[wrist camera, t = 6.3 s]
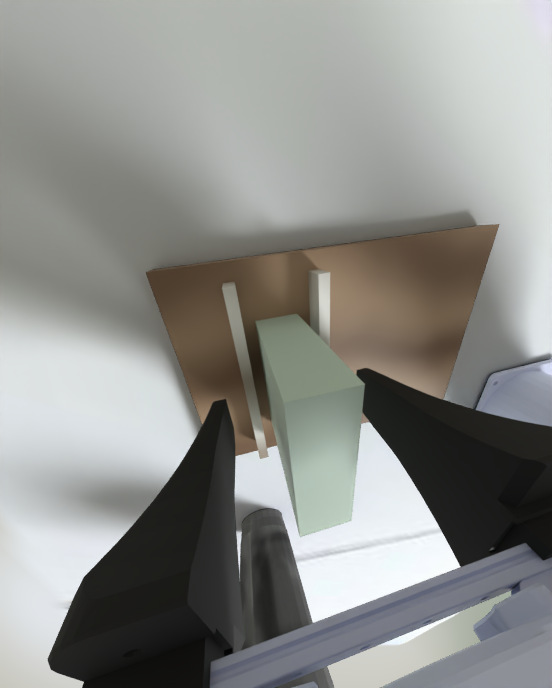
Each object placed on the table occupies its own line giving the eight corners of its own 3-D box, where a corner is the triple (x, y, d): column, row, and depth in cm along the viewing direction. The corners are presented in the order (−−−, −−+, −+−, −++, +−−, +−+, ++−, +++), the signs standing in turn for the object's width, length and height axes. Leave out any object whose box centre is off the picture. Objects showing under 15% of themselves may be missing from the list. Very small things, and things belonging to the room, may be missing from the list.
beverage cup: (296, 494, 23) (533, 1366, 5) (292, 530, 26) (430, 1148, 8) (226, 509, 21) (222, 1778, 4) (230, 545, 24) (240, 1328, 7)
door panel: (303, 413, 16) (351, 520, 10) (271, 421, 16) (300, 537, 10) (297, 313, 13) (365, 384, 6) (255, 320, 12) (283, 403, 6)
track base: (430, 394, 20) (458, 414, 18) (216, 447, 17) (214, 480, 15) (478, 225, 14) (530, 222, 11) (153, 269, 11) (133, 277, 9)
